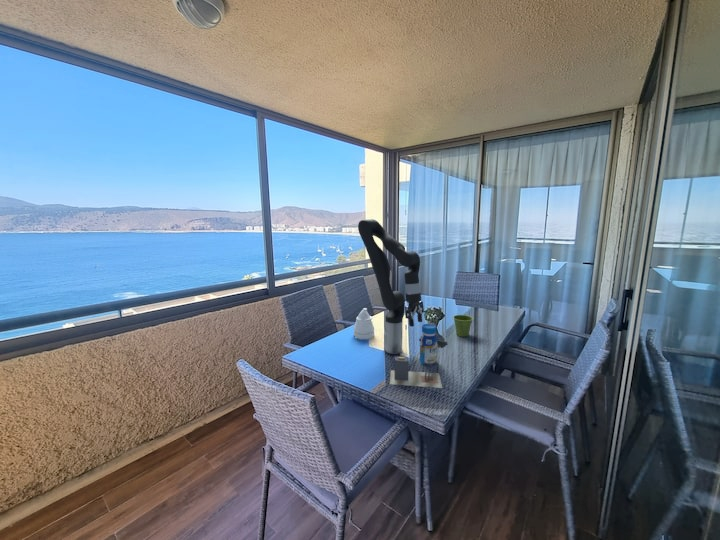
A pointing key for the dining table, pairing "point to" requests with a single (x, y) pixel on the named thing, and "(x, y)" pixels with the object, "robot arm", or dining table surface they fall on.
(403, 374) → the plug housing
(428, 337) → the beverage bottle
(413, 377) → the board
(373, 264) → the robot arm
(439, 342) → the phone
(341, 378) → the dining table surface
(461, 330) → the plant pot
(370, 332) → the honey pot
